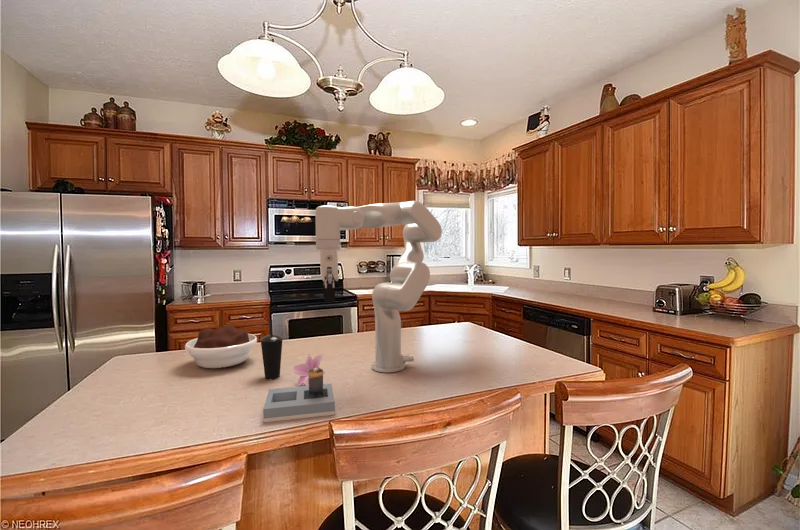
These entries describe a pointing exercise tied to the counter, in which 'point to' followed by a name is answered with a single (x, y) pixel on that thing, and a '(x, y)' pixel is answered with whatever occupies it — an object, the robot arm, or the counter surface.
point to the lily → (307, 368)
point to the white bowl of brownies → (221, 347)
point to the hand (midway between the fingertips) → (329, 299)
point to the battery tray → (297, 403)
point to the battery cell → (315, 383)
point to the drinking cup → (271, 354)
